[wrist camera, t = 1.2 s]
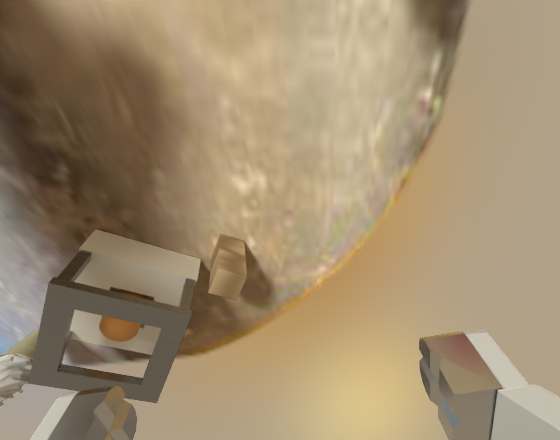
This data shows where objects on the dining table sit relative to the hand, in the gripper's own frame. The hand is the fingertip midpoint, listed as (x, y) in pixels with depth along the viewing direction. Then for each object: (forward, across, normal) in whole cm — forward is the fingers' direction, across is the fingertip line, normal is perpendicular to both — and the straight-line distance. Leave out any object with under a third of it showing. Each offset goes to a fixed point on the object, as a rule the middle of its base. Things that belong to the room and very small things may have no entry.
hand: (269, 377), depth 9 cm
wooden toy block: (+34, +10, +14) cm, 38 cm away
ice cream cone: (+30, +37, +19) cm, 52 cm away
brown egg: (+29, +23, +17) cm, 40 cm away
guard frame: (+27, +23, +17) cm, 39 cm away
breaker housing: (+32, +23, +16) cm, 43 cm away
